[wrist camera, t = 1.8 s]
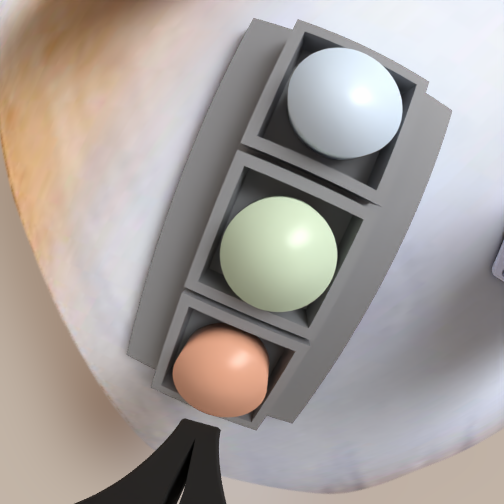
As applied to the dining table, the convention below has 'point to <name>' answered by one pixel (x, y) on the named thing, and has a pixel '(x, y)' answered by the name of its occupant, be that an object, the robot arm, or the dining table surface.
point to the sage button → (278, 254)
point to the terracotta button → (222, 371)
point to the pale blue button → (343, 104)
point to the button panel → (287, 184)
